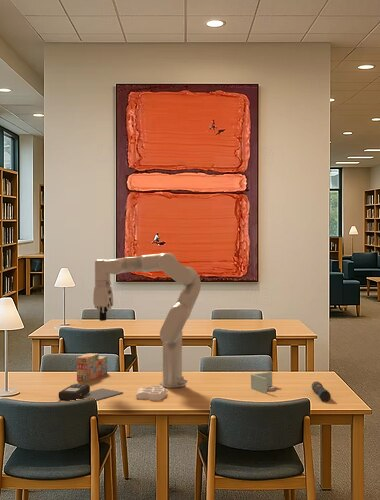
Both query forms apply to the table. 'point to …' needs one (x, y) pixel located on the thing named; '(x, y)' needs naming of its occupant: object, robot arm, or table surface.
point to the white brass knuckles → (151, 392)
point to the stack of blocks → (91, 366)
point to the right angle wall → (262, 382)
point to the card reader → (74, 392)
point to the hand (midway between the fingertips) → (103, 320)
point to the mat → (101, 394)
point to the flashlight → (321, 391)
